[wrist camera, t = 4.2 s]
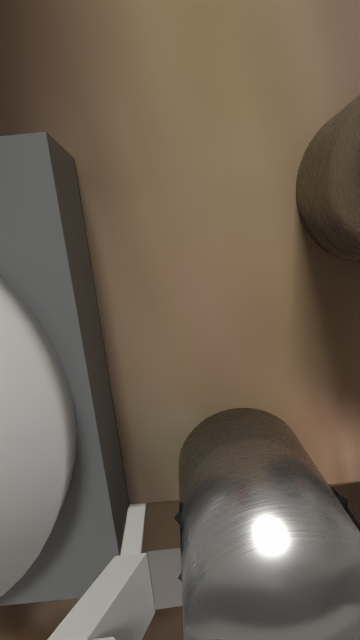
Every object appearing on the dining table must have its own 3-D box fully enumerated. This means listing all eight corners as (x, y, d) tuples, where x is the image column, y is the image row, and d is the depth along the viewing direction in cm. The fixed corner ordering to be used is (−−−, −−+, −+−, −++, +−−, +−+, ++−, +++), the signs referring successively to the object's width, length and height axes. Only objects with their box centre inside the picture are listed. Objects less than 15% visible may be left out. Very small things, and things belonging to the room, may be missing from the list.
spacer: (301, 402, 11) (410, 531, 6) (301, 510, 12) (395, 699, 7) (173, 413, 11) (173, 552, 6) (183, 521, 12) (192, 718, 7)
